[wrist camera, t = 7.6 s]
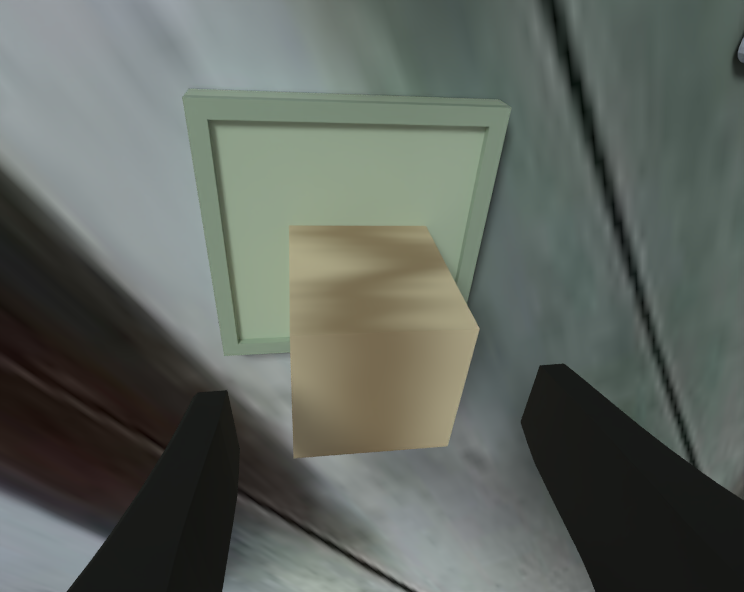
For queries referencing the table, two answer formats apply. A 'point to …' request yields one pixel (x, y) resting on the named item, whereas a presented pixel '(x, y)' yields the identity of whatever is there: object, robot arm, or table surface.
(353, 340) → the maple block
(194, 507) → the robot arm
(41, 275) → the table surface
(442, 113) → the tray
